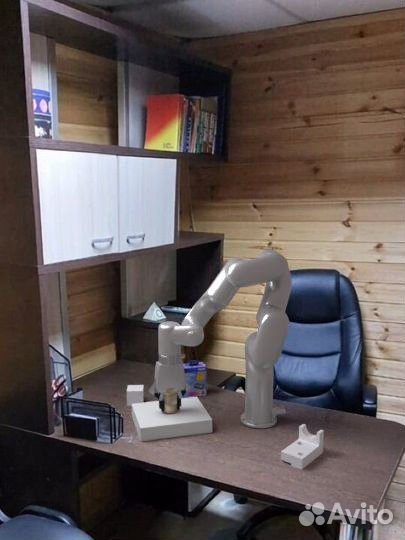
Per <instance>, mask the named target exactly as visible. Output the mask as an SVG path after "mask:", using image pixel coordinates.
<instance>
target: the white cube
mask: <svg viewBox="0 0 405 540" xmlns="http://www.w3.org/2000/svg"><path fill="white" fill-rule="evenodd" d="M144 387H145V386H144V384H127V388H126V407H132V404H134V403H143V402H144V401H145V397H144V396H145V395H144V392H145V388H144Z"/></svg>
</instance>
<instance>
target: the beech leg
mask: <svg viewBox="0 0 405 540" xmlns="http://www.w3.org/2000/svg"><path fill="white" fill-rule="evenodd" d="M163 400H164V412H163V413H165V414H169V415H171V414H175V413H177V391H176V388H175V389H167V391H166V392H164V396H163Z"/></svg>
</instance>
